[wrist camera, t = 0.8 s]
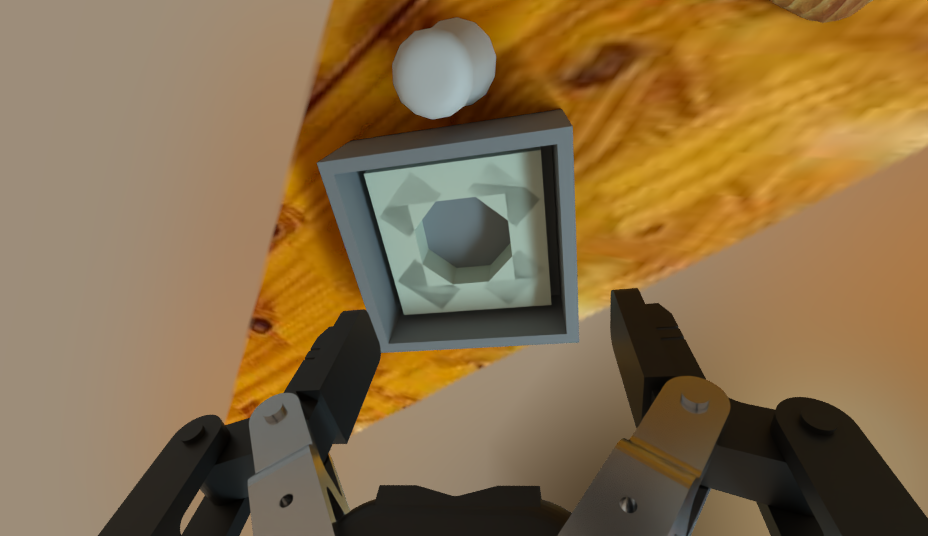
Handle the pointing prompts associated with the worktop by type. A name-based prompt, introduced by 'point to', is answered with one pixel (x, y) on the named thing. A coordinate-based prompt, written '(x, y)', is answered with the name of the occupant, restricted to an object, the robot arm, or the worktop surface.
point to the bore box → (462, 232)
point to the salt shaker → (444, 68)
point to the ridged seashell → (822, 8)
